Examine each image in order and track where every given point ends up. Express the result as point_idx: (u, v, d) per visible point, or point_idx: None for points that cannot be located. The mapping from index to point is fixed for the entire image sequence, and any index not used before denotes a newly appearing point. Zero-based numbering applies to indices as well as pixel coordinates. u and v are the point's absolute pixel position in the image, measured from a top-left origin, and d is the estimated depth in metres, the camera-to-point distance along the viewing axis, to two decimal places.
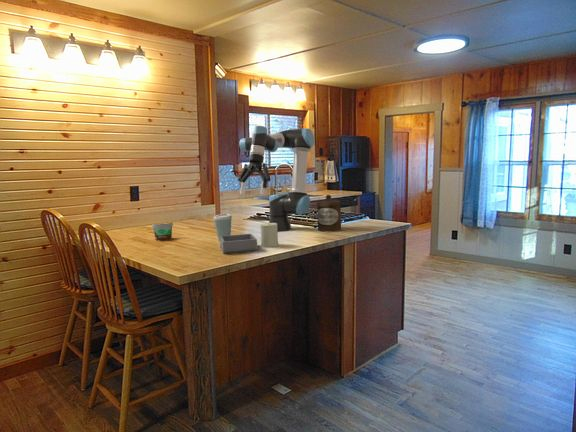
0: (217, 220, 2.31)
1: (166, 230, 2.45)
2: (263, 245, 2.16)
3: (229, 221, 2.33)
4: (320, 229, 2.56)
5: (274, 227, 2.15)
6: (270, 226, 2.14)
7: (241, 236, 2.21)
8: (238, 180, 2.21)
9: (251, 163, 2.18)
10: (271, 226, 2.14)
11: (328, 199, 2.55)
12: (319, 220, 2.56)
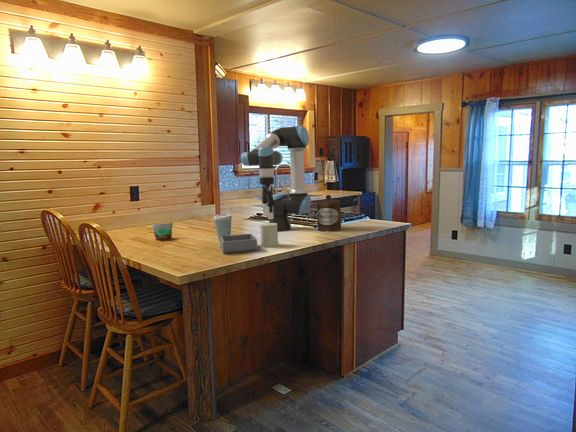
0: (217, 220, 2.31)
1: (166, 230, 2.45)
2: (263, 245, 2.16)
3: (229, 221, 2.33)
4: (320, 229, 2.56)
5: (274, 227, 2.15)
6: (270, 226, 2.14)
7: (241, 236, 2.21)
8: (262, 201, 2.25)
9: (264, 185, 2.17)
10: (271, 226, 2.14)
11: (328, 199, 2.55)
12: (319, 220, 2.56)
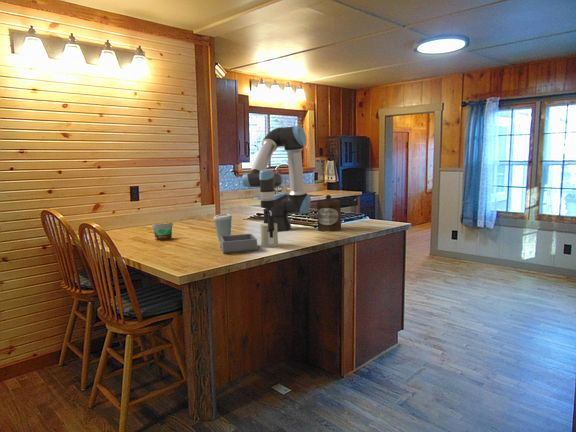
0: (217, 220, 2.31)
1: (166, 230, 2.45)
2: (263, 245, 2.16)
3: (229, 221, 2.33)
4: (320, 229, 2.56)
5: (274, 227, 2.15)
6: None
7: (241, 236, 2.21)
8: None
9: (265, 207, 2.19)
10: None
11: (328, 199, 2.55)
12: (319, 220, 2.56)
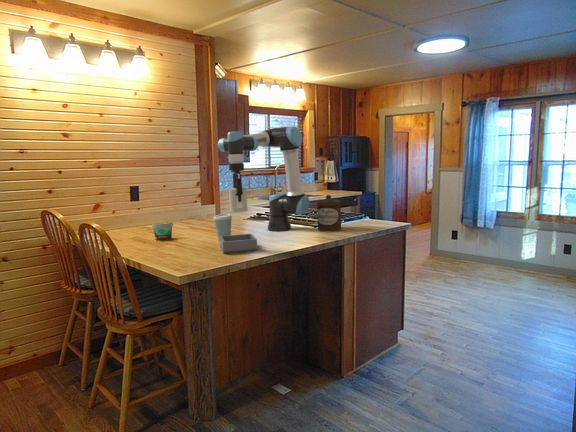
0: (217, 220, 2.31)
1: (166, 230, 2.45)
2: (231, 210, 2.08)
3: (229, 221, 2.33)
4: (320, 229, 2.56)
5: (243, 191, 2.07)
6: None
7: (241, 236, 2.21)
8: None
9: (234, 171, 2.10)
10: None
11: (328, 199, 2.55)
12: (319, 220, 2.56)
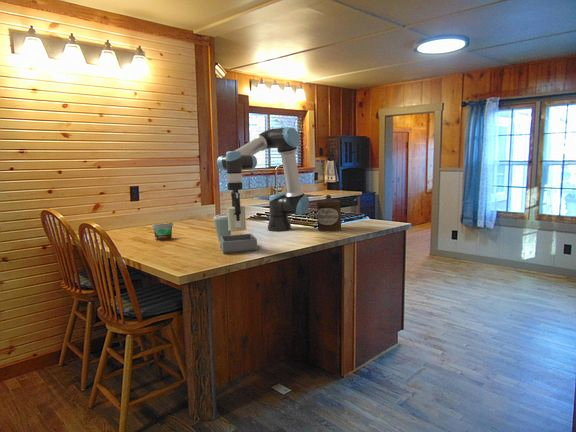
0: (217, 220, 2.31)
1: (166, 230, 2.45)
2: (230, 229, 2.09)
3: None
4: (320, 229, 2.56)
5: (241, 210, 2.08)
6: None
7: (241, 236, 2.21)
8: None
9: (232, 190, 2.11)
10: None
11: (328, 199, 2.55)
12: (319, 220, 2.56)
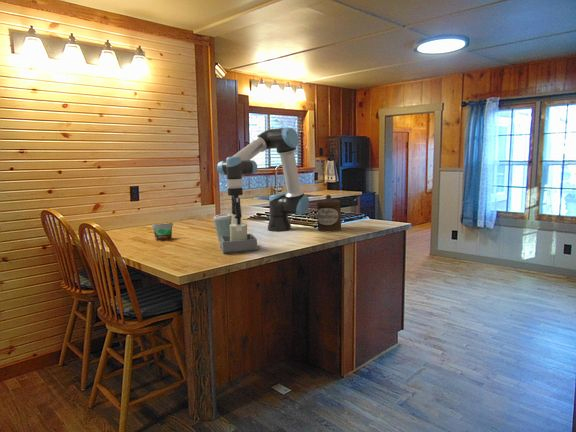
0: (217, 220, 2.31)
1: (166, 230, 2.45)
2: None
3: (229, 221, 2.33)
4: (320, 229, 2.56)
5: (243, 228, 2.09)
6: None
7: None
8: None
9: None
10: None
11: (328, 199, 2.55)
12: (319, 220, 2.56)
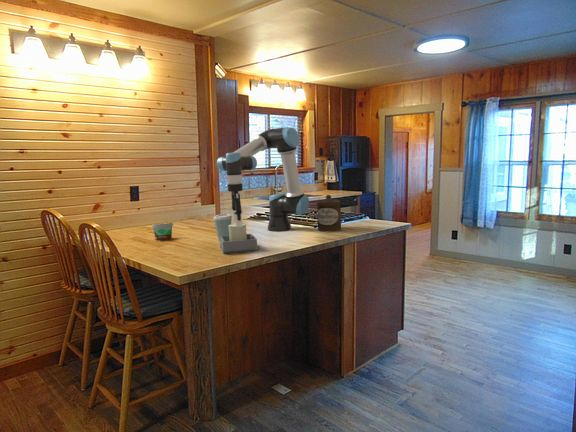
0: (217, 220, 2.31)
1: (166, 230, 2.45)
2: None
3: (229, 221, 2.33)
4: (320, 229, 2.56)
5: (242, 228, 2.09)
6: (238, 227, 2.08)
7: None
8: None
9: None
10: (239, 227, 2.08)
11: (328, 199, 2.55)
12: (319, 220, 2.56)
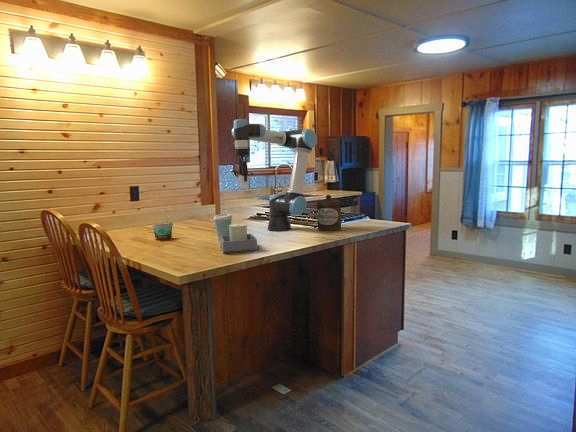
0: (217, 220, 2.31)
1: (166, 230, 2.45)
2: None
3: (229, 221, 2.33)
4: (320, 229, 2.56)
5: (243, 228, 2.10)
6: (239, 227, 2.08)
7: None
8: None
9: None
10: (240, 227, 2.08)
11: (328, 199, 2.55)
12: (319, 220, 2.56)
